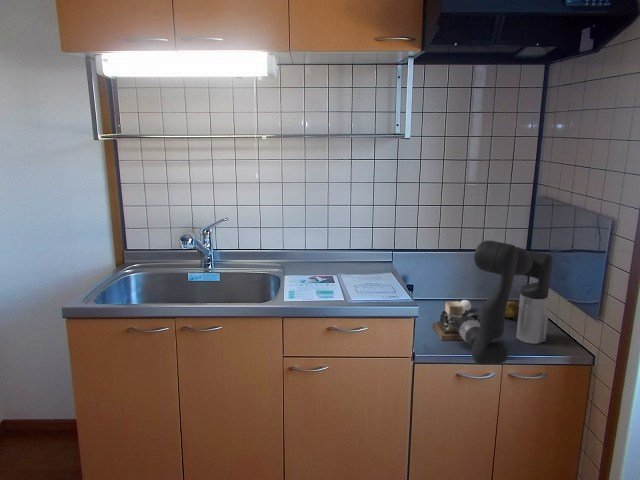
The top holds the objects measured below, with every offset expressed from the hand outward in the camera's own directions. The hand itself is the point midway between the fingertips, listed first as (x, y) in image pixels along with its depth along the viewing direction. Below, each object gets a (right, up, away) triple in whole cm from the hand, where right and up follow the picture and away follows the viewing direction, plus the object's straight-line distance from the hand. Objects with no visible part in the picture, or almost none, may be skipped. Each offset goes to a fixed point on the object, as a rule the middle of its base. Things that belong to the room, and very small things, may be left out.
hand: (454, 312), depth 184 cm
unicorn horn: (+6, -5, +19) cm, 20 cm away
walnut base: (0, -8, +3) cm, 9 cm away
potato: (+26, -5, +18) cm, 32 cm away
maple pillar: (0, -6, +3) cm, 7 cm away
